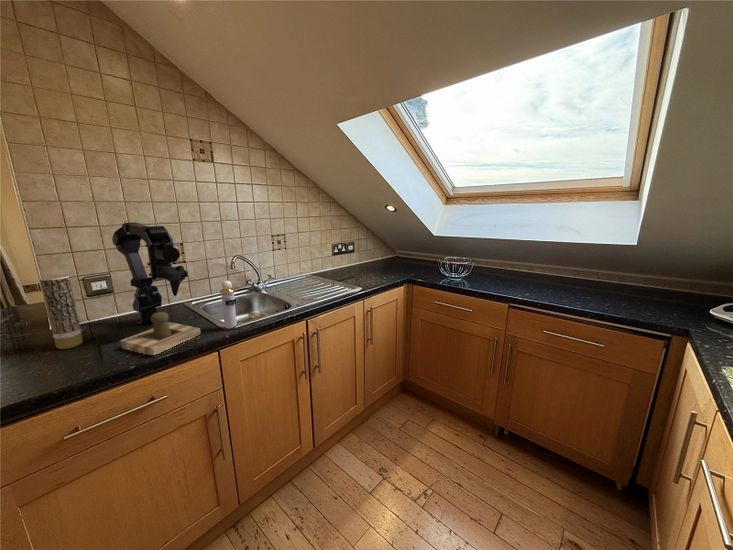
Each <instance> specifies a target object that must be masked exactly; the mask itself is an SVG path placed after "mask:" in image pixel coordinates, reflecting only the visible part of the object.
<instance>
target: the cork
mask: <svg viewBox="0 0 733 550" xmlns="http://www.w3.org/2000/svg"><path fill="white" fill-rule="evenodd" d="M169 316H170V315H169V313H167V312H165V311H161V312H160V311H159V312H158V313H155V314H153V315H152V316H151V321H152V322H153V328H154V333H153V338H154V339H158V340H160V339H163V338H165V337H167V336H170V335H172V334H171V331H170V328H169V325H168V323H169V322H168V321H169Z"/></svg>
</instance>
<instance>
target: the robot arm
mask: <svg viewBox="0 0 733 550" xmlns="http://www.w3.org/2000/svg"><path fill="white" fill-rule="evenodd" d="M111 239H112V244H113V245H114V246H115V248H116V250H117V252H119V253H120V254H122V255H123V256H124V257H125V259H126V263H127V265H128V268H129V271H130V273H131V276H132V278H131V280H130V286H131V287H135V288H136V289H135V293H134V294H133V295H134V300H133V303H132V304H131V306H132V309H133V311H135V312H137V313H139V317H140V319H139V320H140V321H137V322H136V324H138V325H143V326H150V325H154V323H153V322H152V321H151V316H152V315H153V314H155V313H159V312H158V308H161V307H162V301H163V300H162V298H163V297H162V294H161V293H160V291H159V289H158V286H156V285H153V283H154V282H159V281H163V280H166V281H168V282H169V284H170V288H171V289H170V290H171V292H172V295H173V296H174V297H177V294H178V292H179V288H180V285H181V283H182V282H183V281H184V280H186V278H188V277H189V273H188V271H187V270H186V269H185V267H184V265H177V266H174V267H173V266H172V263H175V262H178V260H179V259H180V255H181V253H180V251H179V249H178V248H176V247H174V239H173V237H172V236H171V235H170V233H169V231H168V230H167V228H166V227H165V226H163V225H153V226H151V225H150V226H149V225H145V224H142V223H139V222H135V221H134V222H124V223H122V224H121V227H119V228H118V229H116V230H115V231H114V233H113V236H112V238H111ZM141 241H143V242H144V243H145V247H146V249H147V256H148V261H149V262H147V266H149V267H150V273H148V275H149V276H148V275H147V272H146V269H145V266H144V264H143V261H142V258H141V255H140V253H139V251H140V247H141Z"/></svg>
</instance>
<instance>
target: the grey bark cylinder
mask: <svg viewBox="0 0 733 550" xmlns="http://www.w3.org/2000/svg"><path fill="white" fill-rule="evenodd" d="M39 281H40V286H41V290H42V294H43V297H44V298H43V299H44V302H45V307H46V311H47V315H48V319H49V324H50V328H51V332H52V336H53V340H54V344H55V348H57V349H59V350H67V349H71V348H76V347H78V346H80V345H82V344H83V342H84V340H83V335H82V330H81V325H80V321H79V320H80V319H79V316H78V315H79V314H78V310H77V306H76V302H75V301H76V300H75V297H74V292H73V288H72V284H71V279H70V274H66V273H64V274H63V273H62V274H51V275H46V276H41V277H39Z"/></svg>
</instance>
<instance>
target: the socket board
mask: <svg viewBox="0 0 733 550" xmlns="http://www.w3.org/2000/svg"><path fill="white" fill-rule="evenodd" d="M168 325H169V328H170V331H171V334H172V335H170V336H167V337H165V338H163V339H160V340H158V339H154V338H153V333H154V327H152V328H151V329H149V330H146V331H143V332H140V333H137V334H134V335H132V336H129V337H126V338H124V339H120V346H121V349H123V350H126V351H129V350H130V351H129V352H133V351H134V353H137V352H138V353H137V354H141V353H143V354H142V355H145V354H148V355H147V356H149V355H156V354H159V353H161V352H163V351H165V350H168V349H170V348H172V347H174V346H176V345H178V344H180V343H182V342H185V341H187V340H190V339H192V338H194V337H196V336H198V335H200V334H201V333H202V332H201V328H200V327H195V326H190V325H186V324H180V323H176V322H175V323H174V322H168ZM201 335H202V334H201ZM194 339H195V338H194ZM192 340H193V339H192ZM190 341H191V340H190ZM170 350H171V349H170ZM168 351H169V350H168Z"/></svg>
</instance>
